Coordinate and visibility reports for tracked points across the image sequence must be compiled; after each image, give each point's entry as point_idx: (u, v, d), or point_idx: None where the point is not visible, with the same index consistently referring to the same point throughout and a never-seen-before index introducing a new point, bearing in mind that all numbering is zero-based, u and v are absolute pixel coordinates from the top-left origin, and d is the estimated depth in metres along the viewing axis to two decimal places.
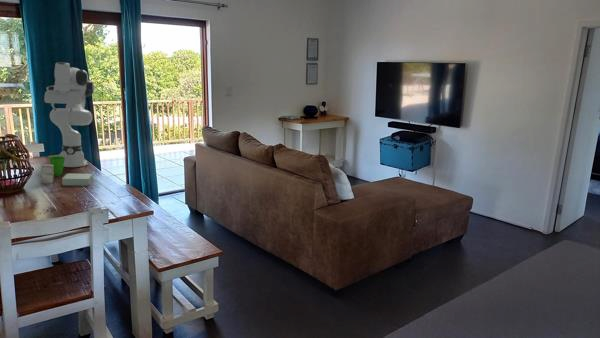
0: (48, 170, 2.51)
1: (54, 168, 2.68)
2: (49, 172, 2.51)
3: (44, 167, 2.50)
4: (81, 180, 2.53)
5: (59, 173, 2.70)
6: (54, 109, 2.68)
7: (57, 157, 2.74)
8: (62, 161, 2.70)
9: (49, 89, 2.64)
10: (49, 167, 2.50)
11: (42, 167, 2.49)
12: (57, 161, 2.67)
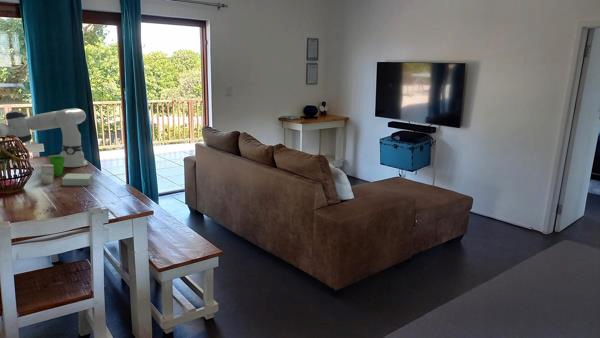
0: (48, 170, 2.51)
1: (54, 168, 2.68)
2: (49, 172, 2.51)
3: (44, 167, 2.50)
4: (81, 180, 2.53)
5: (59, 173, 2.70)
6: None
7: (57, 157, 2.74)
8: (62, 161, 2.70)
9: None
10: (49, 167, 2.50)
11: (42, 167, 2.49)
12: (57, 161, 2.67)
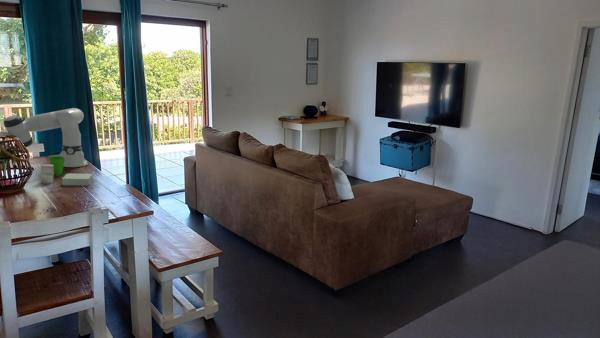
0: (48, 170, 2.51)
1: (54, 168, 2.68)
2: (49, 172, 2.51)
3: (44, 167, 2.50)
4: (81, 180, 2.53)
5: (59, 173, 2.70)
6: None
7: (57, 157, 2.74)
8: (62, 161, 2.70)
9: None
10: (49, 167, 2.50)
11: (42, 167, 2.49)
12: (57, 161, 2.67)
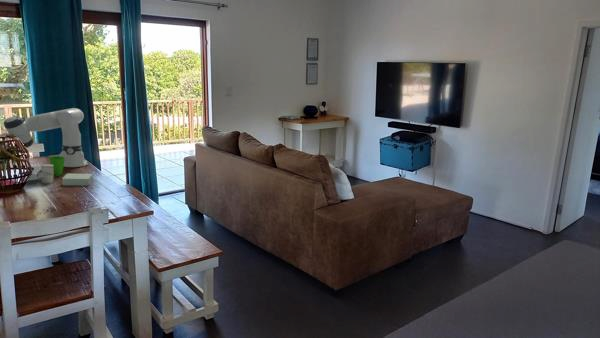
0: (48, 170, 2.51)
1: (54, 168, 2.68)
2: (49, 172, 2.51)
3: (44, 167, 2.50)
4: (81, 180, 2.53)
5: (59, 173, 2.70)
6: (46, 172, 2.50)
7: (57, 157, 2.74)
8: (62, 161, 2.70)
9: None
10: (49, 167, 2.50)
11: (42, 167, 2.49)
12: (57, 161, 2.67)
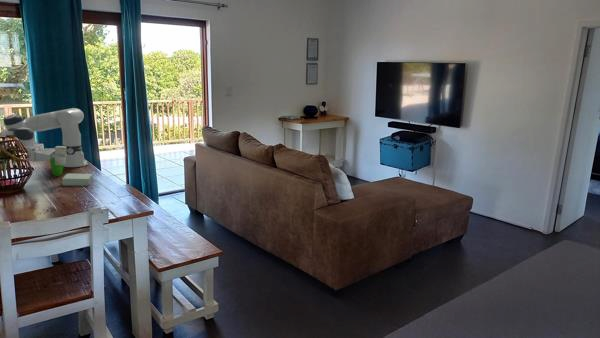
0: (61, 151, 2.49)
1: (54, 168, 2.68)
2: (62, 153, 2.50)
3: (57, 148, 2.49)
4: (81, 180, 2.53)
5: (59, 173, 2.70)
6: (59, 154, 2.49)
7: None
8: None
9: (34, 150, 2.42)
10: (62, 148, 2.49)
11: (55, 148, 2.48)
12: None
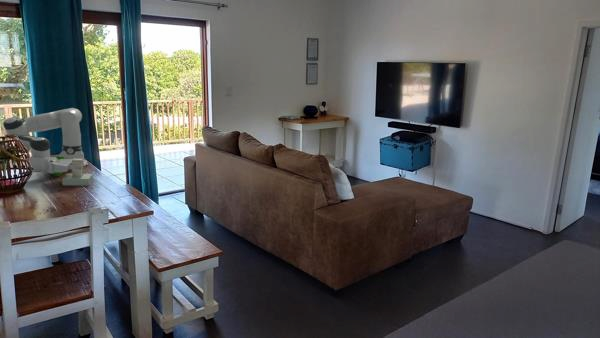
0: (78, 164, 2.54)
1: None
2: (79, 166, 2.54)
3: (74, 161, 2.53)
4: (81, 180, 2.53)
5: (59, 173, 2.70)
6: (76, 165, 2.52)
7: (57, 157, 2.74)
8: None
9: (52, 161, 2.46)
10: (79, 161, 2.54)
11: (72, 161, 2.53)
12: None
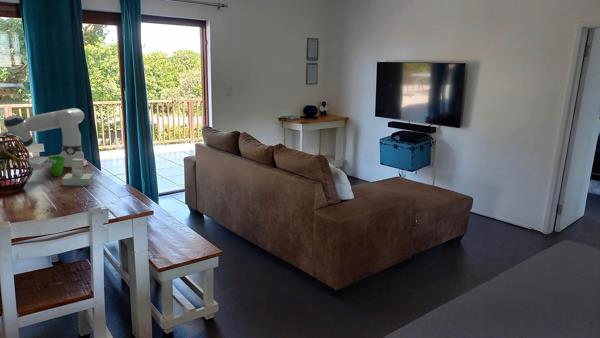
0: (78, 164, 2.54)
1: (54, 168, 2.68)
2: (79, 166, 2.54)
3: (74, 161, 2.53)
4: (81, 180, 2.53)
5: (59, 173, 2.70)
6: (50, 163, 2.48)
7: (57, 157, 2.74)
8: (62, 161, 2.70)
9: None
10: (79, 161, 2.54)
11: (72, 161, 2.53)
12: (57, 161, 2.67)
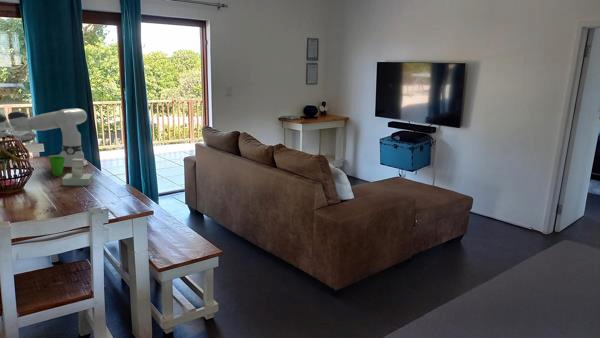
0: (78, 164, 2.54)
1: (54, 168, 2.68)
2: (79, 166, 2.54)
3: (74, 161, 2.53)
4: (81, 180, 2.53)
5: (59, 173, 2.70)
6: (30, 136, 2.46)
7: (57, 157, 2.74)
8: (62, 161, 2.70)
9: (4, 131, 2.40)
10: (79, 161, 2.54)
11: (72, 161, 2.53)
12: (57, 161, 2.67)
